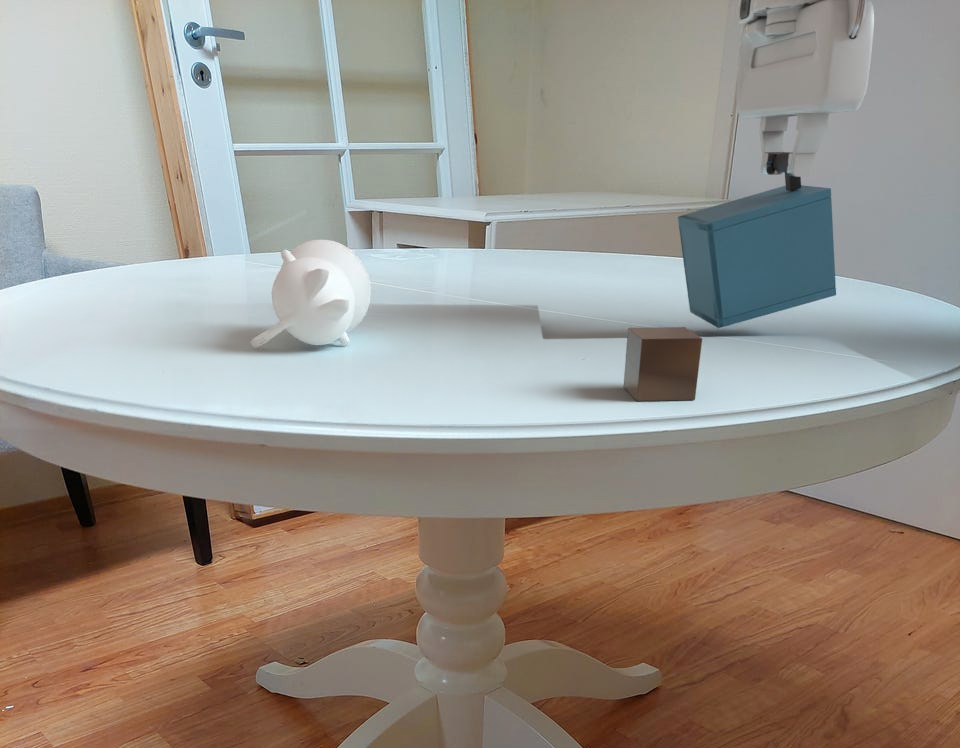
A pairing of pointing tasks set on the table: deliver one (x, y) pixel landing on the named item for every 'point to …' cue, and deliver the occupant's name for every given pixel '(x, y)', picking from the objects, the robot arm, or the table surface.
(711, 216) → the tub
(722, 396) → the table surface
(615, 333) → the table surface
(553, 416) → the table surface
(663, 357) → the block
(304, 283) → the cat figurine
